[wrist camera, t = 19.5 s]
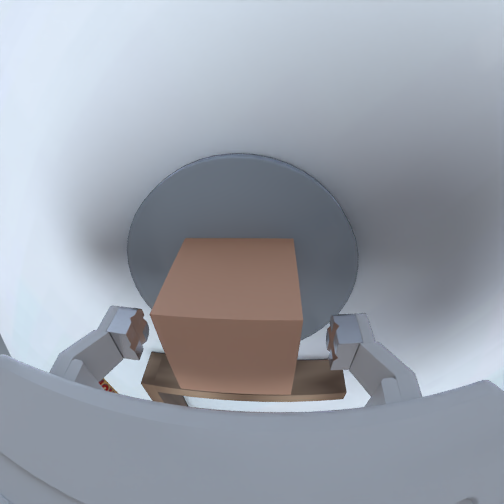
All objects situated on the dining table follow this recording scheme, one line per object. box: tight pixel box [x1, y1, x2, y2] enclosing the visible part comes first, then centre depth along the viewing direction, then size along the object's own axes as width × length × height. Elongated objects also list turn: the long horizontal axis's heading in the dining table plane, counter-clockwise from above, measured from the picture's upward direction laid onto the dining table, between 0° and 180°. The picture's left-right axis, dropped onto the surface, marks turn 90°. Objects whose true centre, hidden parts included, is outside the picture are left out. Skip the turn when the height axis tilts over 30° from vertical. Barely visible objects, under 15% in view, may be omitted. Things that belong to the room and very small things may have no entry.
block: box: [150, 238, 303, 395], centre depth 12 cm, size 5×5×5 cm
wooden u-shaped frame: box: [141, 352, 346, 407], centre depth 22 cm, size 14×13×3 cm
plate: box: [127, 154, 358, 340], centre depth 14 cm, size 12×12×1 cm
